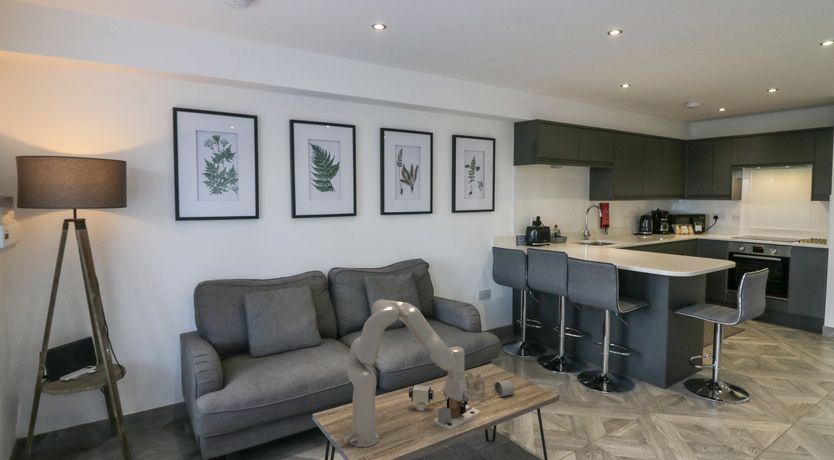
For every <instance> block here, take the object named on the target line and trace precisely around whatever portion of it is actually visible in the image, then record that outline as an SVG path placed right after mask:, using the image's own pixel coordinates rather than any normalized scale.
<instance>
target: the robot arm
mask: <svg viewBox="0 0 834 460" xmlns="http://www.w3.org/2000/svg"><path fill="white" fill-rule="evenodd" d="M371 312H372V314H371V315H370V316H369V317H368V318H367V320H366V321H365V322H364V325H363V327H362V330H361V335H360V336H359V337H358V336H357V338H355V339H354V340H353V342H352V343H351V346H350V351H349V355H348V361H347V366H346V367H347V369H346V374H347V377H348V379H349V380H350V382H351V383H352V386H353V391H352V430H350V434H349V435H347V436H345V437H343V442H344V443H347V442H350V444H351V445H353V446H355V447H357V448H358V447H359V448H369V447H371V446H374V445H376V444H377V443H378V442H379V441H380V435H379V433H378V432H377V431H376V430H377V429H376V426H377V425H376V390H377V388H376V387H377V382H378V381H377V377H376V374H375V372H374V371H373V370H372V368H371V367H370V366H371V365H373V364H375V363H376V361H377V360H378V358H379V354H380V346H381V341H382V338H383V337H382V336H383V334H384V333H383V332H385V330H386V329H387V327H389V326H390V325H391V326H392V324H394V323H395V322H396V321H401V322H403V323H404V325H405V326H406V327H407V329H408V330H409V331H410V333H411V334H412V335H413V337H414V338H415V339H416V341H417V342H418V343H419V344H420V345H421V346H422V347H423V348H424V349H426V351H428V352H429V353H430V355H429V357H430V360H431V361H432V362H433V363H434V364H435V365H436V366H438V367H439V368H440V369H442V370H443V371H445V372H446V371H447V375H446V378H445V385H444V387H443V388H441V390H442V392H443V395H444V397H445V401H446V407H447V408H449V398H452V399H454V400H456V401H460V403H461V406H460V414H461V415H462V414H464V413H466V405H467V406H468V404H469V403H470V402H471V401H470V400H471V399H470V397H469V396H468V395H467V388H466V380H465V378H464V377H465V349H464V348H463V347H461V346H458V345H457V346H455V345H454V346H451V347H448V346H447V344H446V343H445V342H444V341H443V339H441V337H440V336H439V335H438V334H437V332H436V331H435V330H434V328H432V326H431V325H430V323H429V322H428V321H427V319H426V317H424V315H423V314H422V312H421V311H420V310H419V308H417V307H416V306H414V305H413V304H411V303H410V302H405V301H397V300H396V301H395V300H389V299H379V300H376V301H375V302H374V303H373V305H372V307H371ZM462 400H463V401H462Z"/></svg>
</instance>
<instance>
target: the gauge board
mask: <svg viewBox="0 0 834 460" xmlns="http://www.w3.org/2000/svg"><path fill="white" fill-rule="evenodd" d="M481 413H482V412H481V410H479V409H476V408H474V407H472V406H469V405H468V404H467V405H466V413H464V414H462V415H464V418H463V417H461V416H458V417H454V416H451V409H449V408H447V406H442V407H440V408H438V409H437V417H436V418H433V421H432V422H433V423H434V424H437V426H440V427H443V428H444V429H447V430H448V431H452V430H453V429H455V428H456V427H458V426H461V425H462V424H464V423H466V422H468V421H470V420H471V419H473V418H475V417H478V416H479V415H481Z"/></svg>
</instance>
